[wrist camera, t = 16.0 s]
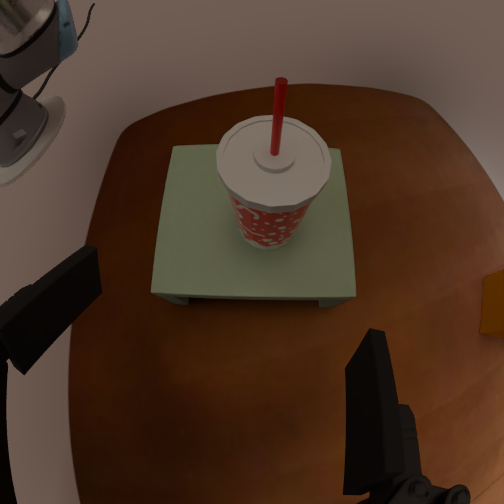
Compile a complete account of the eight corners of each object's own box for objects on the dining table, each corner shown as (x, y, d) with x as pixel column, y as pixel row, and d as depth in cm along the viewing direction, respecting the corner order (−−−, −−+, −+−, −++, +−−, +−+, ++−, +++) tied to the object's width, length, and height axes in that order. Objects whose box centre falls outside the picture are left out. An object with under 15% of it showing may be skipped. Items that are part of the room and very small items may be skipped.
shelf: (187, 182, 32) (173, 146, 25) (325, 185, 32) (339, 148, 25) (174, 304, 28) (150, 292, 21) (332, 307, 28) (356, 296, 21)
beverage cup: (220, 201, 23) (189, 58, 10) (289, 182, 24) (316, 40, 11) (241, 269, 22) (223, 156, 8) (316, 246, 22) (387, 124, 9)
